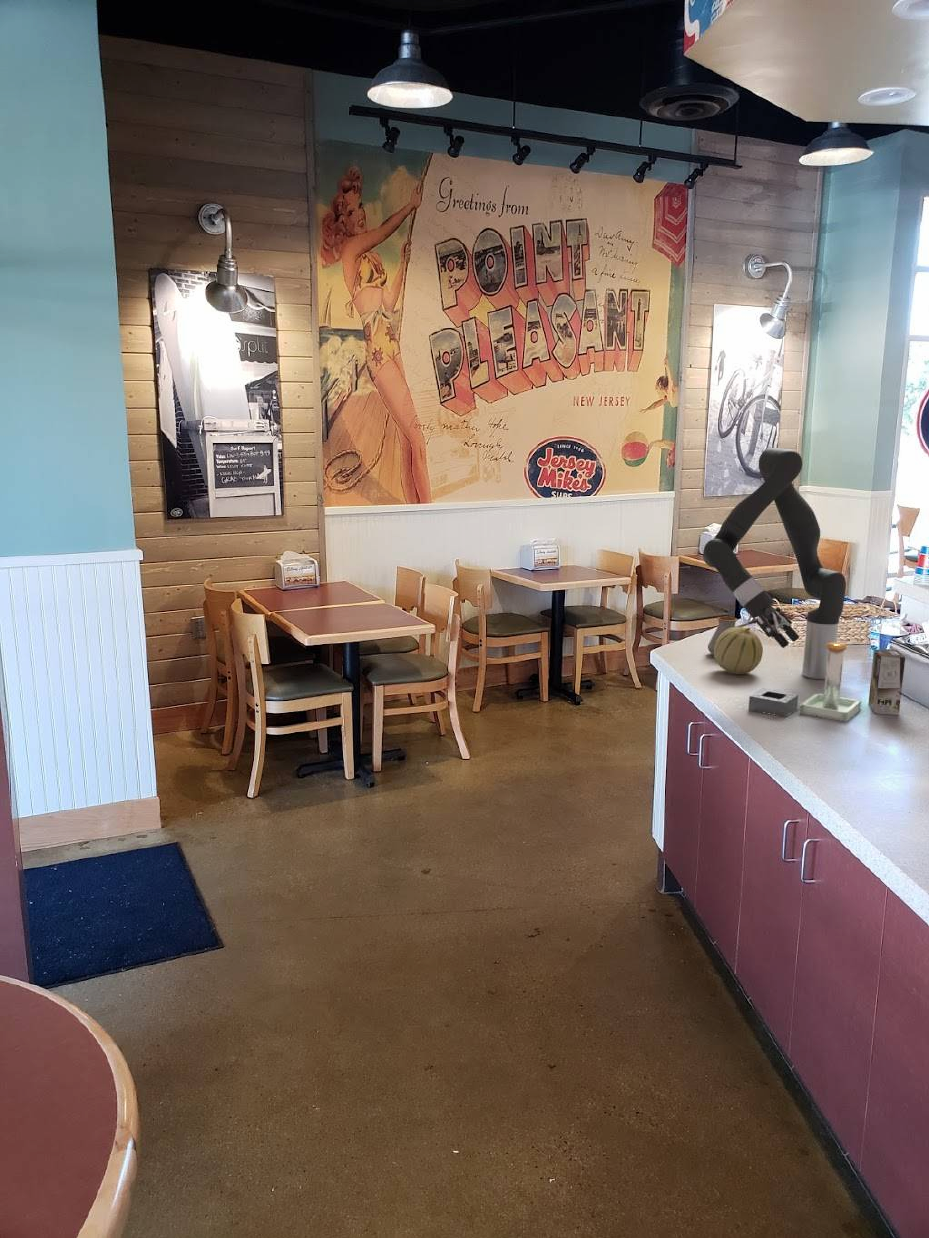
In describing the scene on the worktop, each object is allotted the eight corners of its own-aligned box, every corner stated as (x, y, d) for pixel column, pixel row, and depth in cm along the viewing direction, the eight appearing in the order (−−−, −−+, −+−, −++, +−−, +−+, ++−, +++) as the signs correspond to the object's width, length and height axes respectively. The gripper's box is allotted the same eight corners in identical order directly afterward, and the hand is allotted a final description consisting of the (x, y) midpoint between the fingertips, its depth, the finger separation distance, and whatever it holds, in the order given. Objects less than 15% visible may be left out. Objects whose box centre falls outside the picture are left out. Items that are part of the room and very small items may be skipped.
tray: (815, 701, 267) (816, 692, 267) (860, 709, 260) (861, 700, 260) (799, 713, 256) (800, 704, 256) (845, 722, 249) (846, 713, 249)
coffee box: (899, 715, 255) (906, 657, 252) (874, 713, 257) (880, 656, 253) (891, 705, 264) (898, 649, 261) (867, 704, 265) (873, 648, 262)
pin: (823, 704, 261) (829, 641, 258) (842, 708, 259) (848, 644, 255) (818, 709, 258) (824, 644, 254) (837, 712, 255) (843, 647, 251)
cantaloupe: (717, 665, 306) (720, 619, 302) (764, 670, 299) (768, 624, 296) (707, 675, 293) (710, 628, 289) (756, 682, 286) (760, 633, 283)
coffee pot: (709, 659, 312) (712, 615, 309) (705, 651, 323) (707, 608, 320) (776, 662, 310) (779, 617, 306) (769, 653, 321) (773, 610, 318)
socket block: (761, 701, 266) (762, 688, 266) (797, 708, 261) (798, 694, 260) (748, 710, 259) (749, 696, 258) (784, 717, 253) (786, 702, 252)
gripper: (754, 593, 259) (793, 640, 255) (772, 585, 270) (810, 629, 266) (734, 610, 263) (772, 656, 259) (752, 601, 274) (790, 645, 270)
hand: (791, 642), depth 262 cm, fingers open, 8 cm apart
